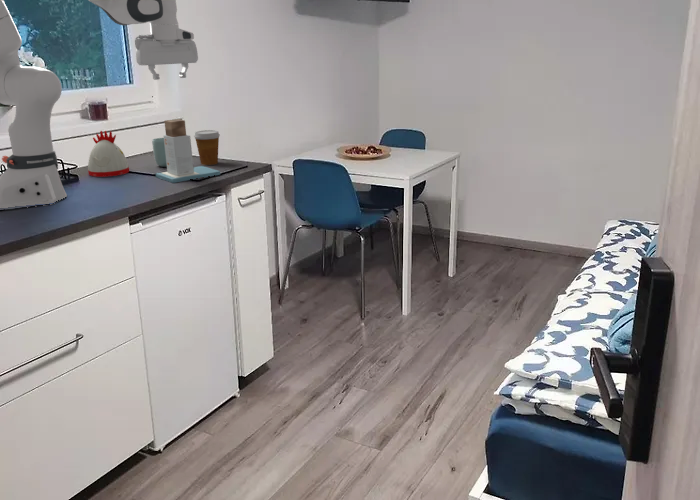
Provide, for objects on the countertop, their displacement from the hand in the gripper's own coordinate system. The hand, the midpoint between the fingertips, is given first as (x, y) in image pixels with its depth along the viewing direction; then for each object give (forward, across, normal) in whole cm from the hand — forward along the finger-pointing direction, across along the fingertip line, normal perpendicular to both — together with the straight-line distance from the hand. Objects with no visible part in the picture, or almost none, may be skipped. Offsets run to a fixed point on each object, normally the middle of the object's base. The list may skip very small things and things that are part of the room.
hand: (169, 78), depth 209 cm
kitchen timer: (+33, -15, +26) cm, 45 cm away
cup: (+33, +5, +22) cm, 40 cm away
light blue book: (+33, +3, 0) cm, 33 cm away
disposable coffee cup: (+33, +19, +14) cm, 41 cm away
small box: (+32, 0, 0) cm, 32 cm away
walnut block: (+19, 0, 0) cm, 19 cm away
